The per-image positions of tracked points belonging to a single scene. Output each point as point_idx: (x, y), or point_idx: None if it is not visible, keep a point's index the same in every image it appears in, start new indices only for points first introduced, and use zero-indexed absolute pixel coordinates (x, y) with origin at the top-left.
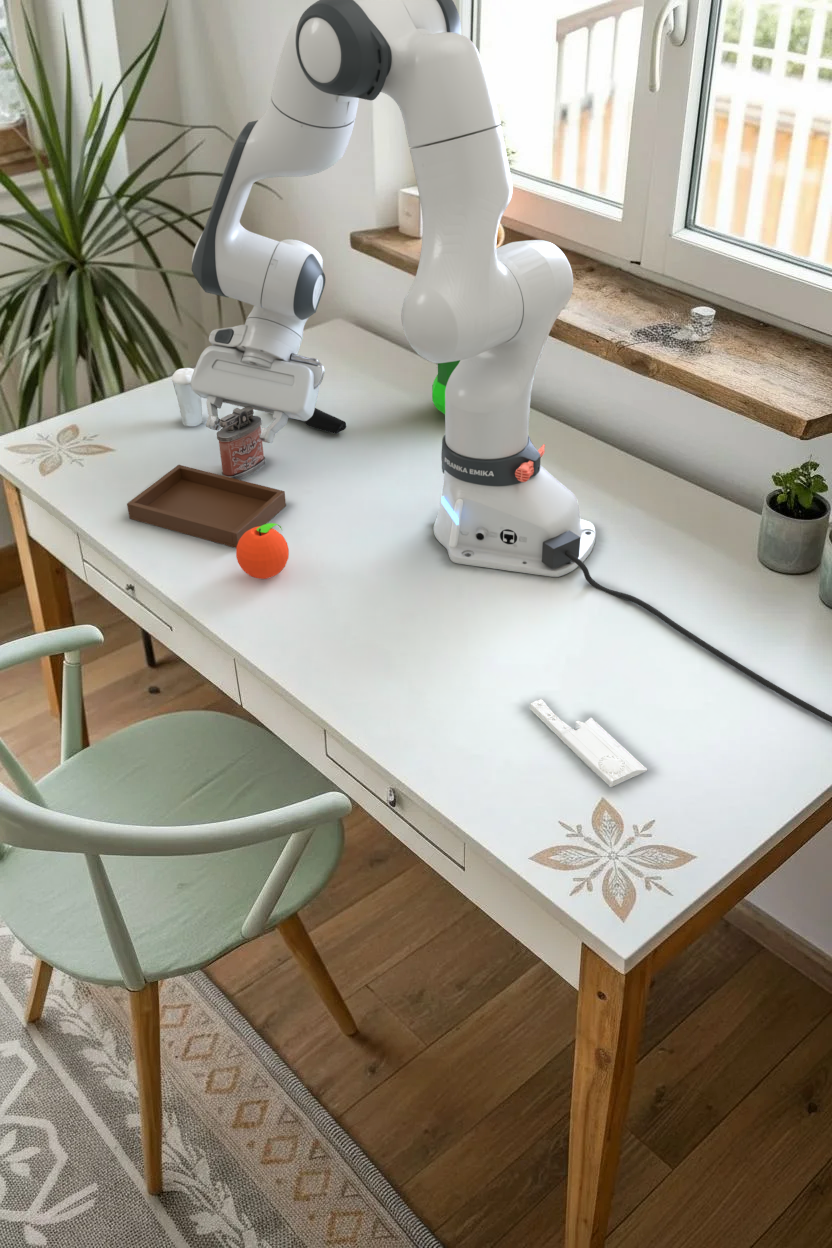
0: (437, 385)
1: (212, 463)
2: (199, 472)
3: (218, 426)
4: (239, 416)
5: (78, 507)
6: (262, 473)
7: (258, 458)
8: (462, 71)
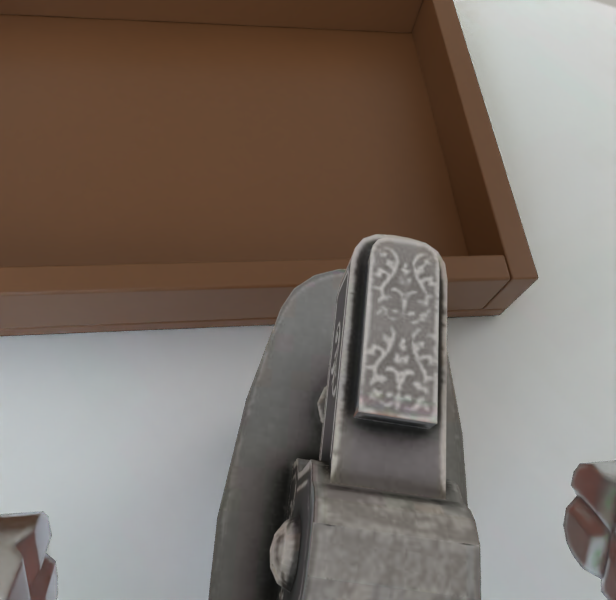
0: None
1: (499, 528)
2: None
3: (588, 538)
4: (310, 465)
5: (611, 31)
6: (160, 595)
7: None
8: None
